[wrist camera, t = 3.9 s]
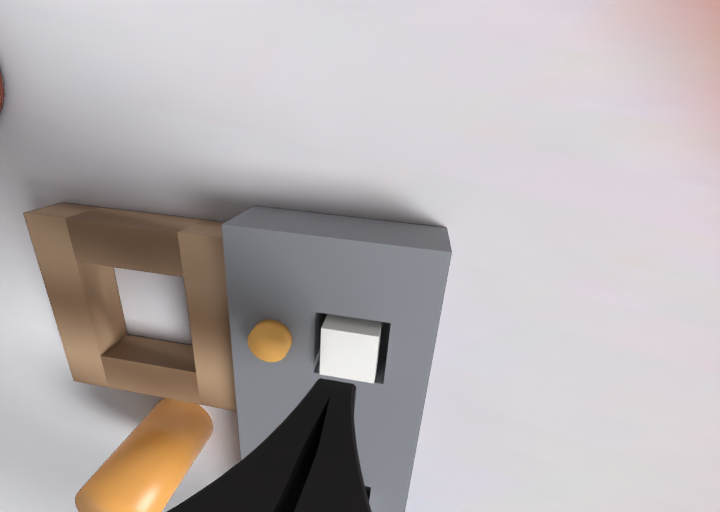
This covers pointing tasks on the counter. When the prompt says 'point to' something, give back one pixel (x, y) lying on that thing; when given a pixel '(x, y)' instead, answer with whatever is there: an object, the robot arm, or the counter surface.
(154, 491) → the cap
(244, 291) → the breaker panel
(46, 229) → the frame
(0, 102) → the supplement bottle
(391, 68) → the counter surface
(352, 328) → the white cube
